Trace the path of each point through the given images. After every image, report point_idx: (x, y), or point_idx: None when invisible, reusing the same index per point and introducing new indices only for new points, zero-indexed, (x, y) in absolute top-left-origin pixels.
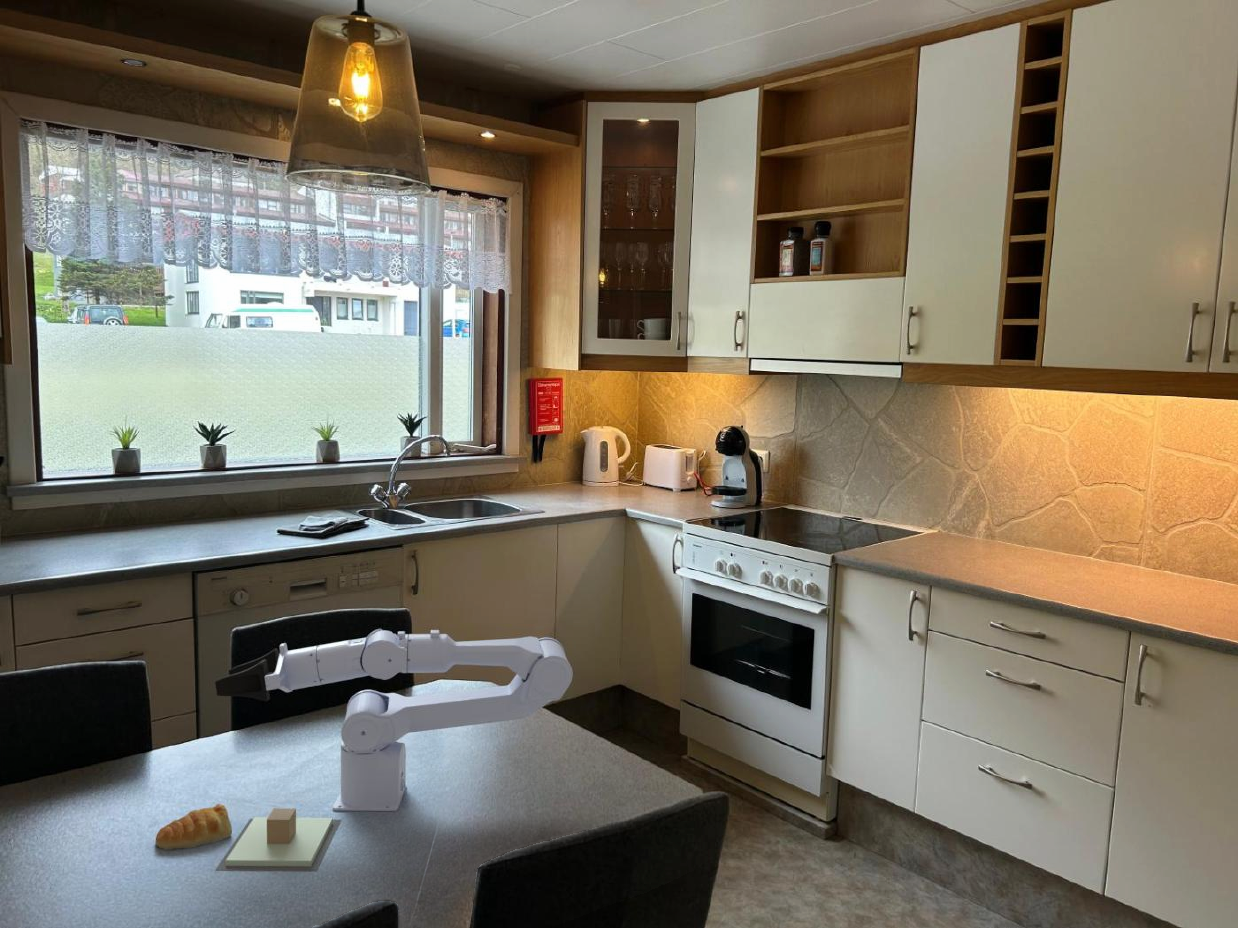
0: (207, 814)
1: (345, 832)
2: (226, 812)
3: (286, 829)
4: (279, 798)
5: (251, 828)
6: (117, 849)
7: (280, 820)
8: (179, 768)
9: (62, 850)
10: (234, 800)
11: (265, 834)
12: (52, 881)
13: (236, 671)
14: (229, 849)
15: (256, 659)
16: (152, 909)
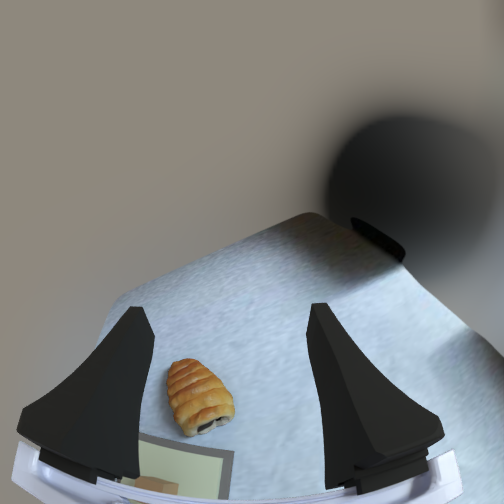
0: (186, 404)
1: None
2: (191, 426)
3: None
4: (296, 473)
5: (191, 458)
6: (188, 330)
7: None
8: (374, 313)
9: (197, 288)
10: (292, 416)
11: (175, 474)
12: (150, 302)
13: (314, 329)
14: (162, 438)
15: (367, 373)
16: None
